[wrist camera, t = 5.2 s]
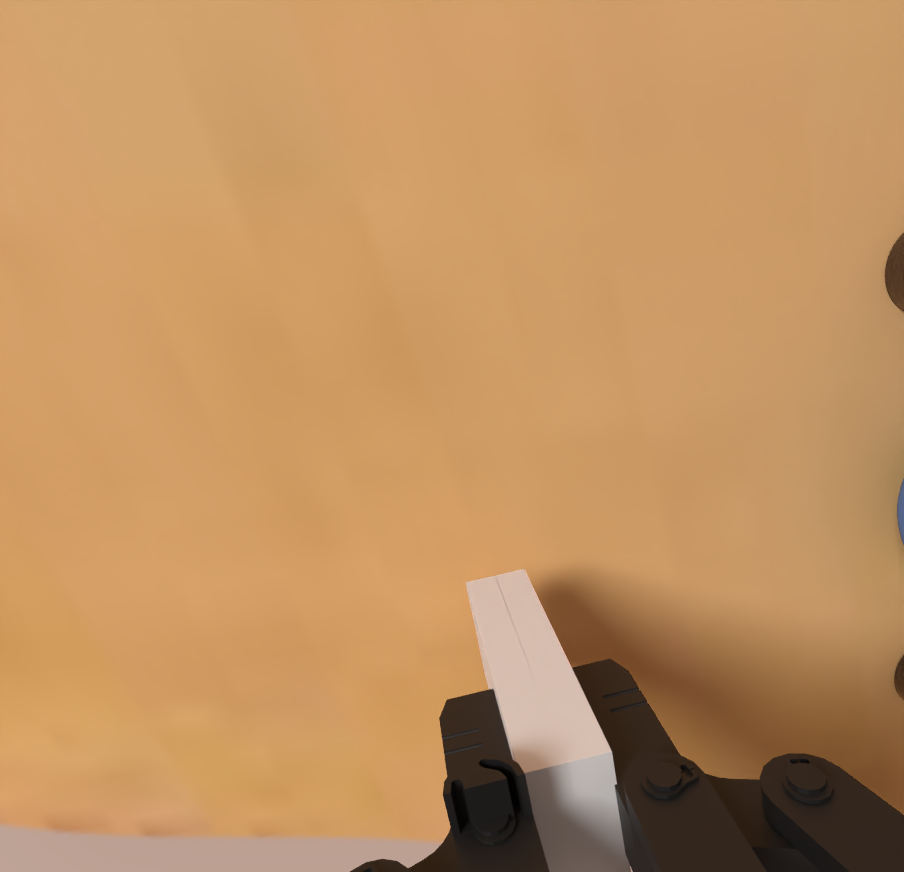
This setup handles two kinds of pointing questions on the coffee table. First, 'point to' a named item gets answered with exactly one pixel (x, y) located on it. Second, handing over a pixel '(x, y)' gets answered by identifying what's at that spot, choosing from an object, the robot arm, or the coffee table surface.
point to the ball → (901, 511)
